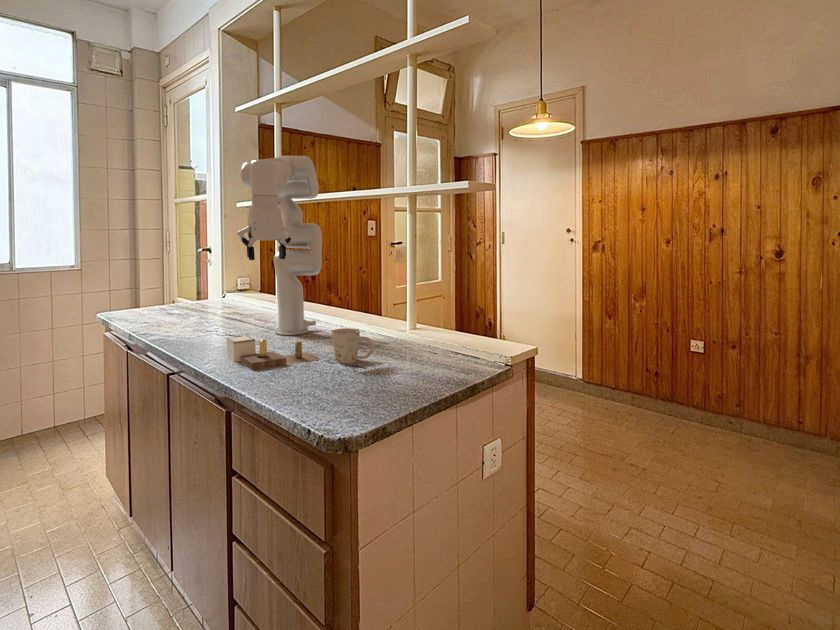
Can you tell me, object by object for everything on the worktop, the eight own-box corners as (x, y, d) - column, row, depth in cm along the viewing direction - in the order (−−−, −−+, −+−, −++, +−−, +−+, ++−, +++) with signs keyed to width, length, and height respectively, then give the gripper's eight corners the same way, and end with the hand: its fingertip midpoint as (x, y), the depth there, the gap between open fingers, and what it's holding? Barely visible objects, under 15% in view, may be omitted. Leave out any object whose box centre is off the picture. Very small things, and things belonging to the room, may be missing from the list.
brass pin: (265, 365, 152) (264, 339, 150) (268, 367, 150) (267, 340, 149) (259, 366, 151) (258, 339, 149) (261, 368, 149) (260, 341, 148)
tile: (307, 355, 164) (306, 337, 163) (321, 362, 156) (320, 342, 155) (276, 360, 158) (275, 341, 157) (290, 367, 150) (289, 347, 149)
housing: (248, 357, 161) (247, 335, 160) (256, 361, 156) (254, 339, 155) (227, 360, 157) (226, 338, 156) (234, 365, 152) (233, 341, 151)
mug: (333, 360, 158) (332, 328, 157) (374, 359, 159) (374, 328, 158) (330, 367, 150) (330, 334, 148) (374, 367, 151) (374, 333, 149)
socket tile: (273, 360, 157) (273, 351, 157) (286, 367, 149) (286, 357, 149) (240, 365, 151) (240, 355, 151) (252, 373, 143) (252, 363, 143)
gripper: (287, 203, 164) (288, 258, 167) (231, 202, 154) (234, 259, 157) (296, 203, 158) (298, 259, 161) (240, 201, 148) (243, 261, 151)
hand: (267, 259), depth 159 cm, fingers open, 9 cm apart
